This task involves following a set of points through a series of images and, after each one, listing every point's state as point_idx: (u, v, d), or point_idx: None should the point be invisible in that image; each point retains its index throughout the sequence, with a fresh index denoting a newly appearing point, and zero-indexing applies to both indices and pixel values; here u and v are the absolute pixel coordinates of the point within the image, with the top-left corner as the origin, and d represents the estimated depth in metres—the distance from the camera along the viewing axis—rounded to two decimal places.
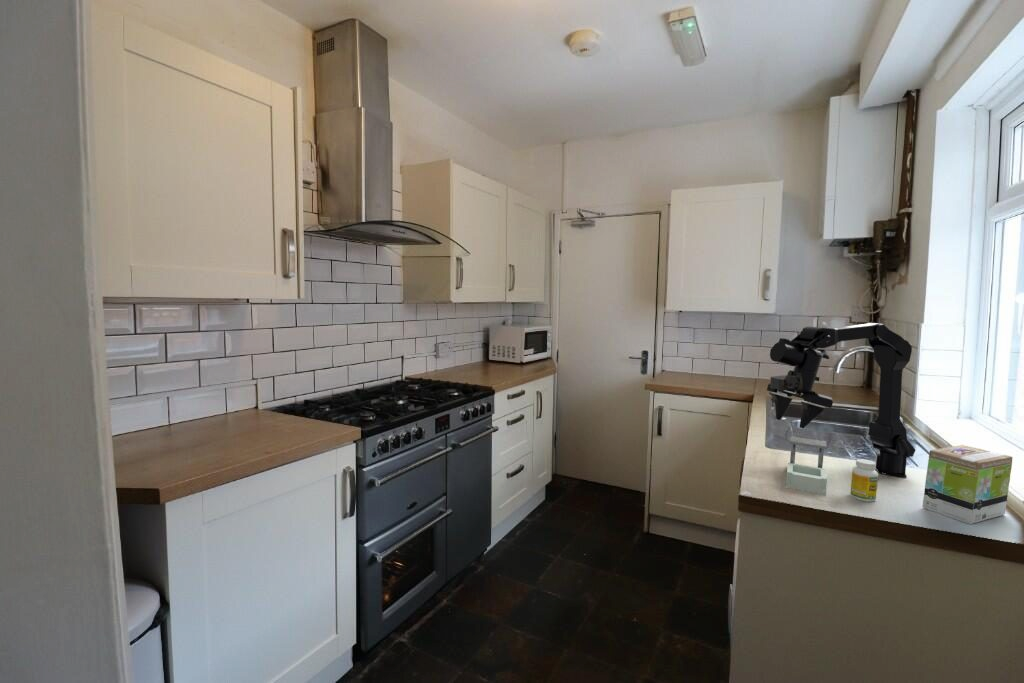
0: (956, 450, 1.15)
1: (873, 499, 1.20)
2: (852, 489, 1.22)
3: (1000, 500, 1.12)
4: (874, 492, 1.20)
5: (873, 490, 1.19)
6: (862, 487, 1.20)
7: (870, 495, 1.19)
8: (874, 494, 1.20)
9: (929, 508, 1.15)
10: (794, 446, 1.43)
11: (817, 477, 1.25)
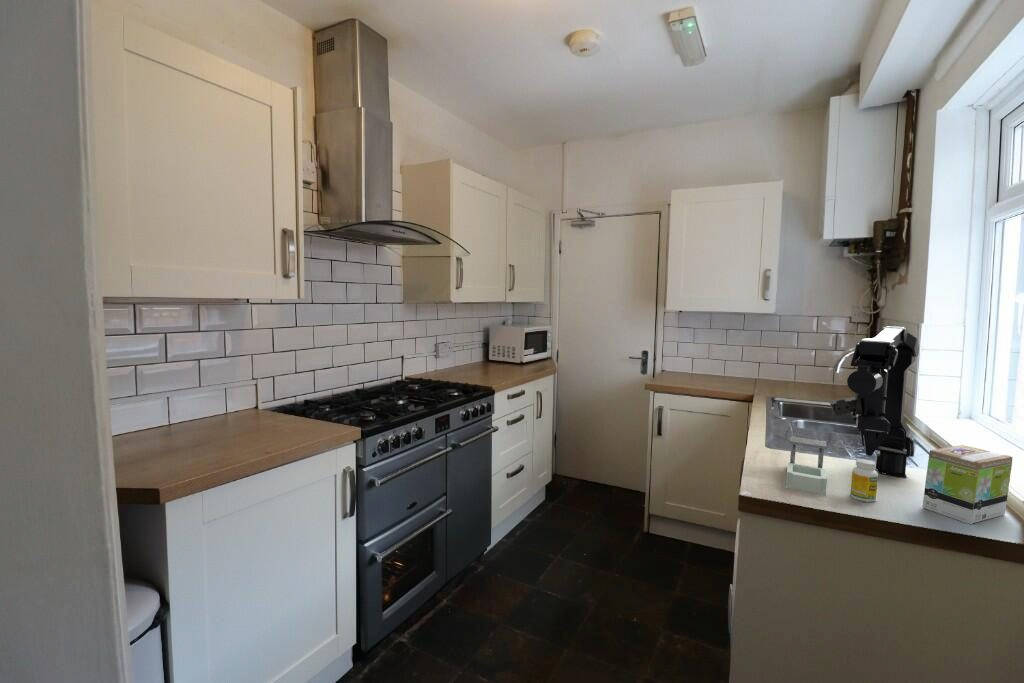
0: (956, 450, 1.15)
1: (873, 499, 1.20)
2: (852, 489, 1.22)
3: (1000, 500, 1.12)
4: (874, 492, 1.20)
5: (873, 490, 1.19)
6: (862, 487, 1.20)
7: (870, 495, 1.19)
8: (874, 494, 1.20)
9: (929, 508, 1.15)
10: (794, 446, 1.43)
11: (817, 477, 1.25)
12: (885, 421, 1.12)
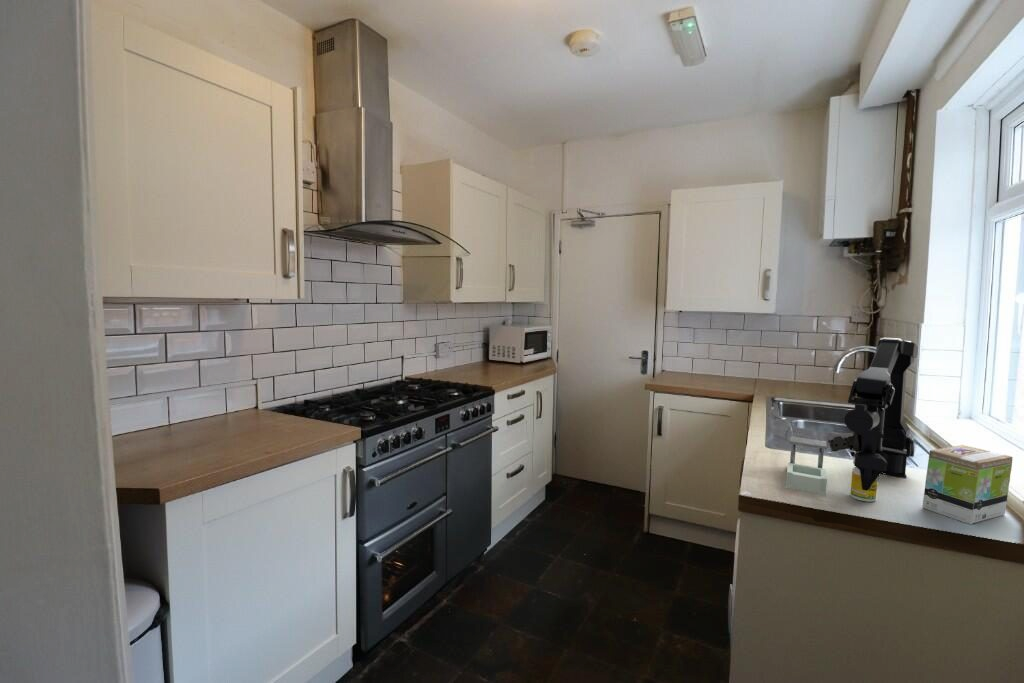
0: (956, 450, 1.15)
1: (873, 499, 1.20)
2: (852, 489, 1.22)
3: (1000, 500, 1.12)
4: (874, 492, 1.20)
5: (873, 490, 1.19)
6: None
7: (870, 495, 1.19)
8: (874, 494, 1.20)
9: (929, 508, 1.15)
10: (794, 446, 1.43)
11: (817, 477, 1.25)
12: (882, 460, 1.12)
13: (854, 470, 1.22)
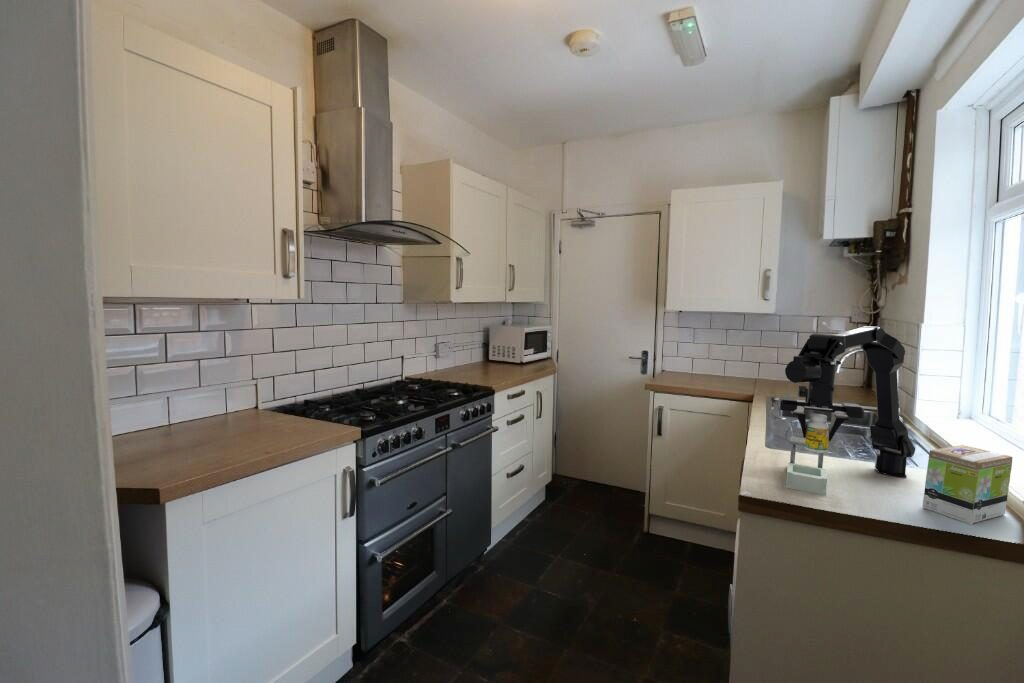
0: (956, 450, 1.15)
1: (809, 448, 1.27)
2: None
3: (1000, 500, 1.12)
4: (810, 442, 1.27)
5: (809, 440, 1.27)
6: None
7: (806, 443, 1.28)
8: (810, 444, 1.27)
9: (929, 508, 1.15)
10: (794, 446, 1.43)
11: (817, 477, 1.25)
12: (781, 400, 1.29)
13: None
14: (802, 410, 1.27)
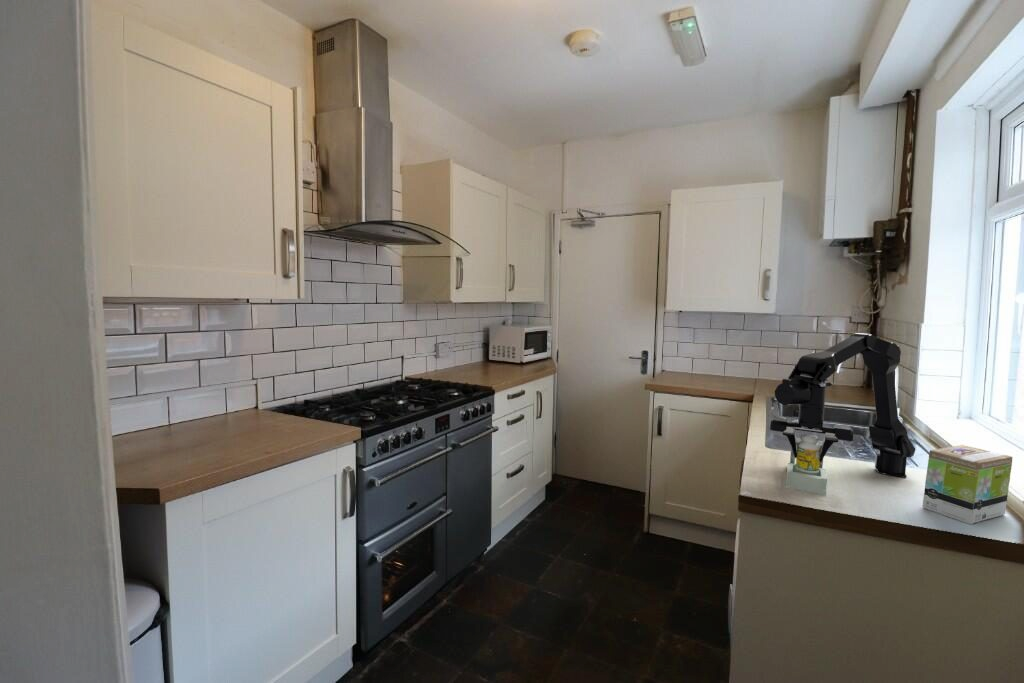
0: (956, 450, 1.15)
1: (799, 468, 1.29)
2: None
3: (1000, 500, 1.12)
4: (800, 462, 1.29)
5: (799, 460, 1.29)
6: None
7: (797, 464, 1.30)
8: (800, 464, 1.29)
9: (929, 508, 1.15)
10: None
11: (817, 477, 1.25)
12: (771, 421, 1.32)
13: None
14: (792, 431, 1.30)
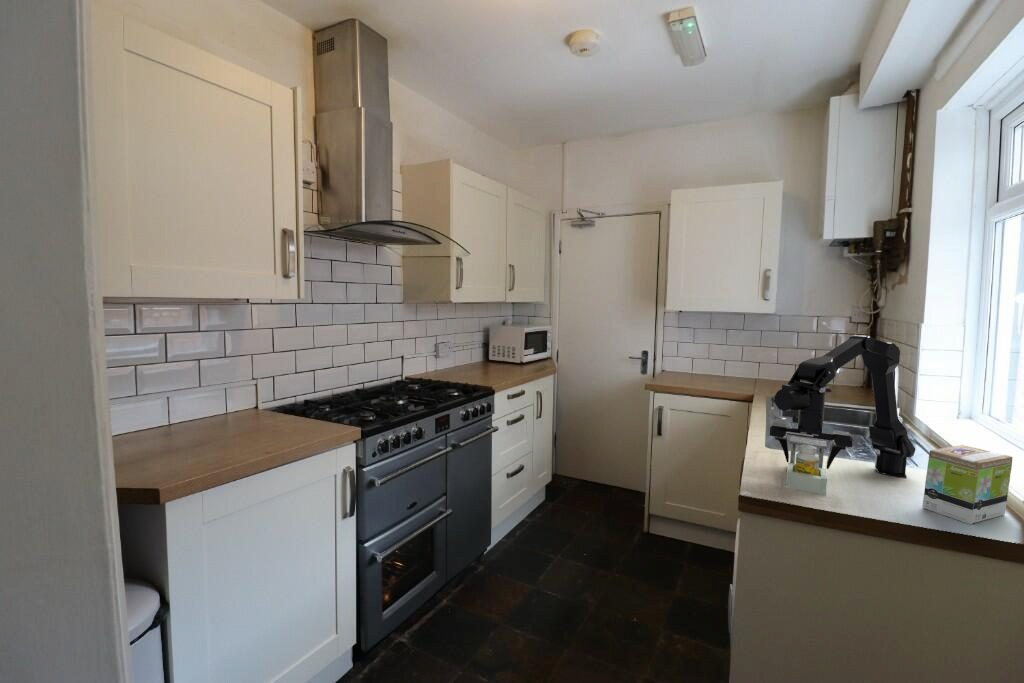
0: (956, 450, 1.15)
1: None
2: None
3: (1000, 500, 1.12)
4: None
5: (798, 471, 1.30)
6: None
7: None
8: None
9: (929, 508, 1.15)
10: (794, 446, 1.43)
11: (817, 477, 1.25)
12: (771, 426, 1.32)
13: None
14: None
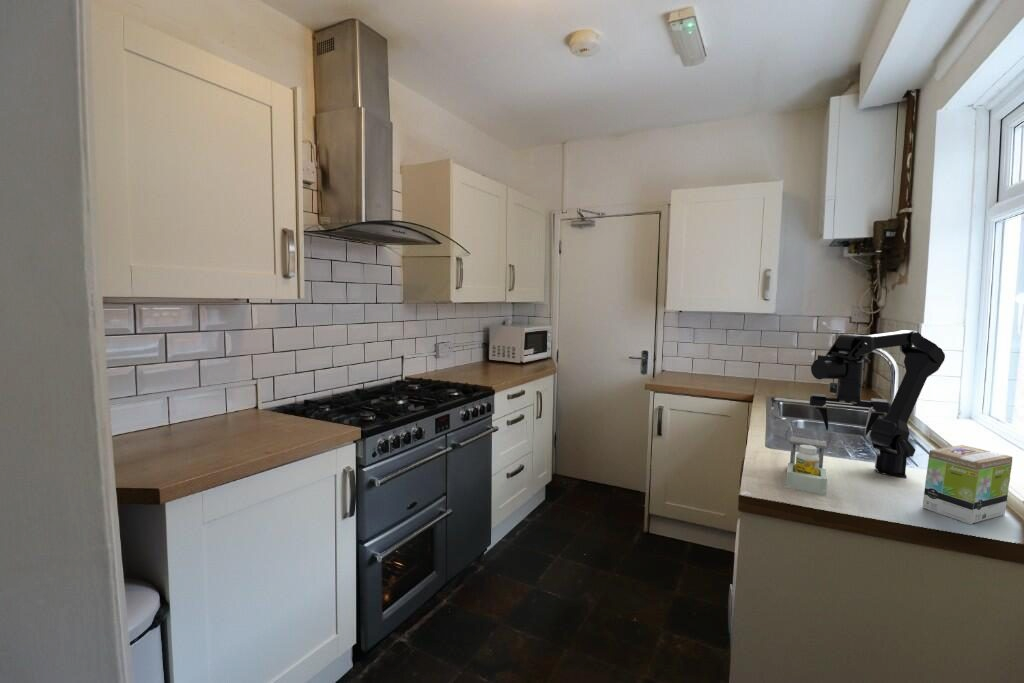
0: (956, 450, 1.15)
1: None
2: None
3: (1000, 500, 1.12)
4: None
5: (798, 471, 1.30)
6: None
7: None
8: None
9: (929, 508, 1.15)
10: (794, 446, 1.43)
11: (817, 477, 1.25)
12: (811, 396, 1.40)
13: None
14: None
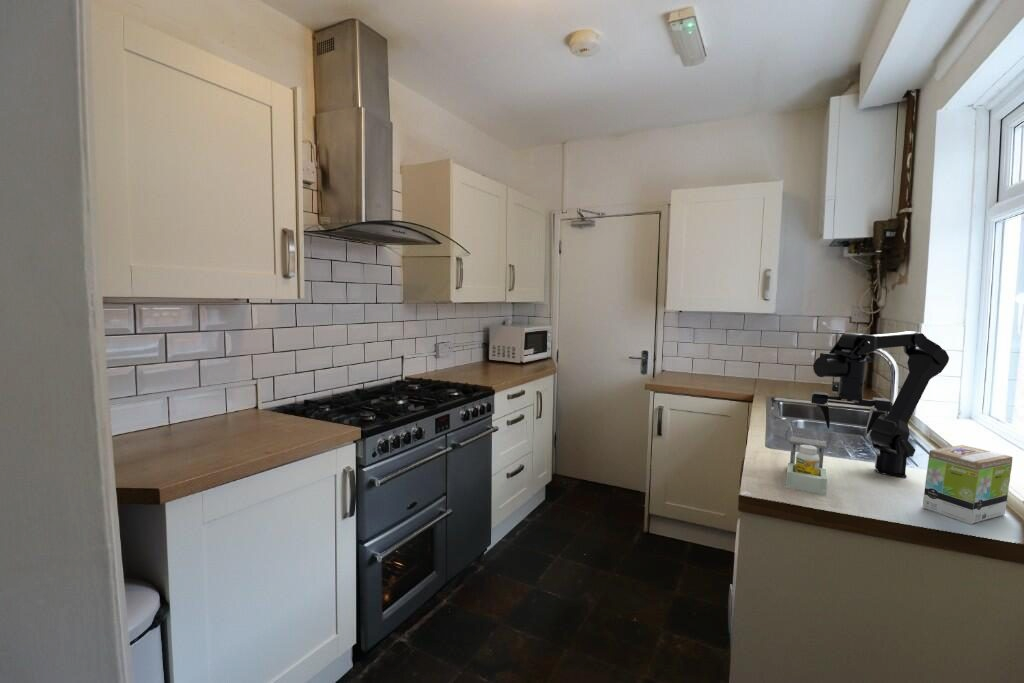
0: (956, 450, 1.15)
1: None
2: None
3: (1000, 500, 1.12)
4: None
5: (798, 471, 1.30)
6: None
7: None
8: None
9: (929, 508, 1.15)
10: (794, 446, 1.43)
11: (817, 477, 1.25)
12: (813, 394, 1.40)
13: None
14: None
